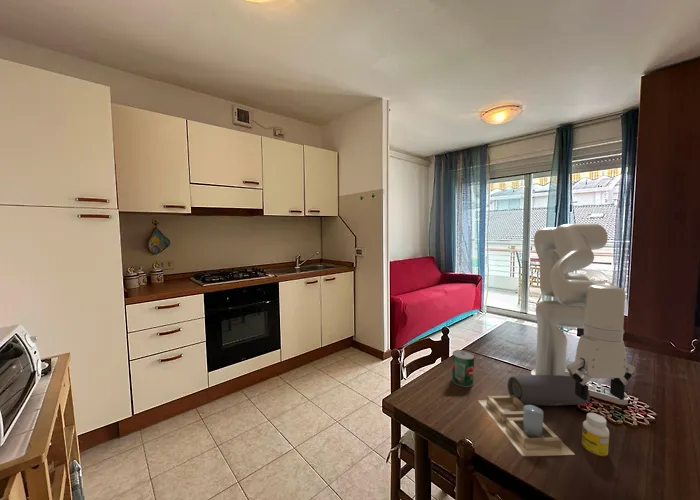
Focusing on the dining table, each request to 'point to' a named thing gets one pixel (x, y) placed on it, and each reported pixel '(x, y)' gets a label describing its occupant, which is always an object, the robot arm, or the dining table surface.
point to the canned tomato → (463, 368)
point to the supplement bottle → (595, 434)
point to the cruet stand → (511, 423)
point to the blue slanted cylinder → (532, 421)
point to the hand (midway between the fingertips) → (598, 397)
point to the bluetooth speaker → (545, 390)
